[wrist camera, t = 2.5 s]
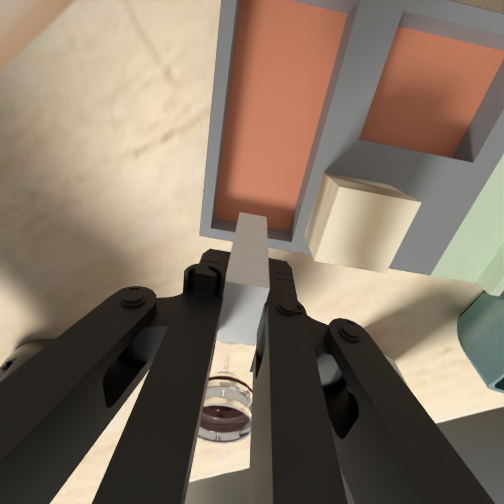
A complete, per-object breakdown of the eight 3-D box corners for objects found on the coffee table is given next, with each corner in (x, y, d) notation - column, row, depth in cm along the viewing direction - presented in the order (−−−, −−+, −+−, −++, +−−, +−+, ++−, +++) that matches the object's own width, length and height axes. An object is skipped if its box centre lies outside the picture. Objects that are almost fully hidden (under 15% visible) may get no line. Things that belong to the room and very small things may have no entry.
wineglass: (198, 337, 36) (173, 431, 25) (219, 304, 33) (202, 394, 23) (240, 355, 38) (234, 450, 27) (265, 325, 35) (268, 418, 24)
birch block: (304, 234, 25) (314, 260, 21) (323, 172, 22) (339, 186, 18) (363, 245, 26) (385, 273, 21) (389, 185, 23) (421, 202, 18)
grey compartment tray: (204, 224, 28) (194, 245, 24) (230, -32, 19) (222, -76, 14) (463, 269, 30) (499, 296, 26) (604, 59, 21) (698, 44, 16)
